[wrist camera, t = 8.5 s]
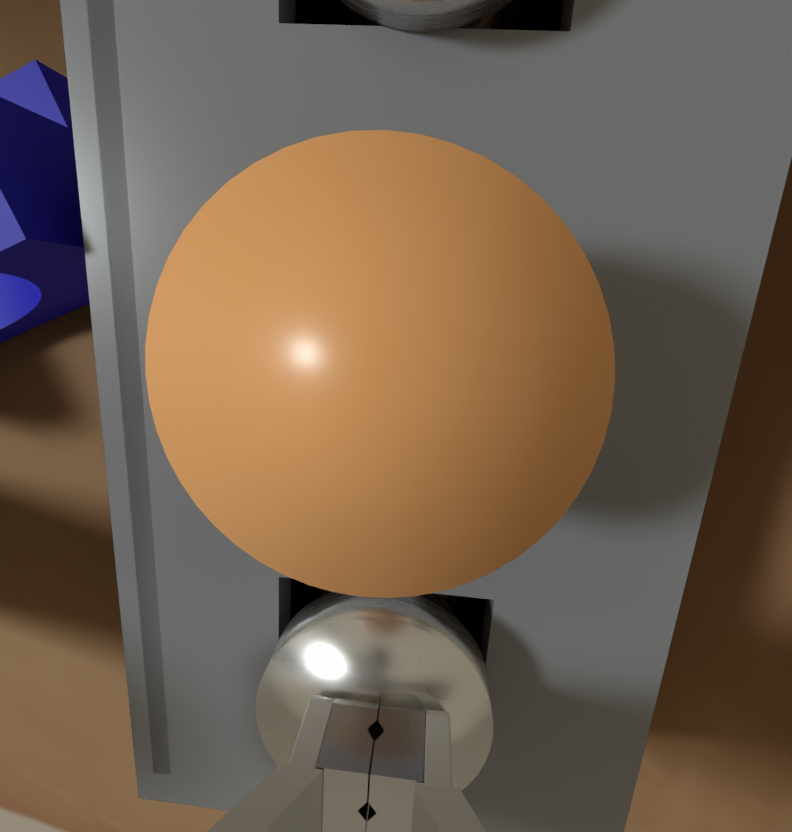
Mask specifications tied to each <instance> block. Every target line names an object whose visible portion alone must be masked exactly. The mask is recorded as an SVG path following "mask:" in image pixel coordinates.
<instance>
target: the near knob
mask: <svg viewBox="0 0 792 832" xmlns="http://www.w3.org/2000/svg"><path fill="white" fill-rule="evenodd" d="M340 1H342V2H343V3H344V4H345V5H346V6H348V7H350V10H351V13H352V16H353V20H354V23H355V25H360V26H390V27H394V28H398V29H402V30H411V31H441V30H446V29H451V28H466V29H501V30H512V27H513V24H514V20H515V17H516V13H517V10H518V6H519V2H520V0H340Z"/></svg>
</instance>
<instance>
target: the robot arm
mask: <svg viewBox="0 0 792 832" xmlns="http://www.w3.org/2000/svg"><path fill="white" fill-rule="evenodd" d="M366 829H367V832H486V830H485V829H484V827H483V826H482V824H481V822H480V821H479V819H478V817H477V816H476V814H475V813H474V811H473V809H472V808H471V806H470V804H469V803H468V801H467V800H466V798H465V796H464V795H463V793H462V791H461V790H460V788H455V787H452V760H451V725H450V714H449V712H445V711H437V710H428V709H426V711H425V709H420V708H411V707H402V706H393V705H384V704H381V705H380V710H379V704H373V703H367V702H360V701H354V700H347V699H341V698H331V697H324V696H318V695H312V697H311V698H310V700H309V702H308V705H307V708H306V711H305V714H304V717H303V720H302V724H301V727H300V730H299V733H298V736H297V739H296V742H295V745H294V748H293V751H292V754H291V758H290V761H289V764H288V765H286V764H281V765H280V766H278V767H277V768H276V769H275V770H274V771H273V772H272V773H271V774H270V775H269V776H268V777H266V778H265V779H264V780H263V781H262V782H261V783H260V784H259V785H258V786H257V787H256V788H254V789H253V790H252V791H251V792H250V793H249V794H248V795H247V796H246V797H245V798H244V799H242V800H241V801H240V802H239V803H238V804H237V805H236V806H235V807H234V808H233V809H232V810H230V811H229V812H228V813H227V814H226V815H225V816H224V817H223V818H222V819H221V820H220V821H218V822H217V823H216V824H215V825H214V826H213V827H212V828H211V829H210V830H209V831H208V832H366Z"/></svg>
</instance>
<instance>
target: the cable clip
mask: <svg viewBox="0 0 792 832" xmlns="http://www.w3.org/2000/svg"><path fill="white" fill-rule="evenodd" d="M89 303H90V301H89V291H88V281H87V271H86V261H85V250H84V240H83V230H82V220H81V210H80V200H79V190H78V179H77V169H76V159H75V149H74V139H73V129H72V119H71V108H70V98H69V88H68V78H66V77H64V76H62V75H61V74H59V73H57V72H56V71H54V70H52V69H51V68H49V67H47V66H45V65H44V64H42V63H40V62H39V61H37V60H34V61H32V62H30V63H28V64H27V65H25V66H23V67H21V68H19V69H18V70H16V71H14V72H12V73H10V74H9V75H7V76H5V77H3V78H1V79H0V343H1V342H3V341H5V340H8V339H10V338H12V337H14V336H17V335H19V334H21V333H23V332H26V331H28V330H30V329H32V328H35V327H37V326H39V325H42V324H44V323H46V322H48V321H51V320H53V319H55V318H57V317H60V316H62V315H64V314H67V313H69V312H71V311H73V310H76V309H78V308H80V307H82V306H85V305H87V304H89Z"/></svg>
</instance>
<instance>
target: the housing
mask: <svg viewBox="0 0 792 832" xmlns="http://www.w3.org/2000/svg"><path fill="white" fill-rule="evenodd" d="M60 7H61V17H62V27H63V38H64V48H65V58H66V68H67V78H68V88H69V98H70V108H71V119H72V129H73V139H74V149H75V159H76V169H77V179H78V190H79V200H80V210H81V220H82V230H83V240H84V250H85V261H86V271H87V281H88V291H89V301H90V311H91V321H92V331H93V342H94V352H95V362H96V372H97V382H98V392H99V402H100V413H101V423H102V433H103V443H104V453H105V463H106V473H107V484H108V494H109V504H110V514H111V524H112V534H113V544H114V554H115V565H116V575H117V585H118V595H119V605H120V615H121V625H122V636H123V646H124V656H125V666H126V676H127V686H128V696H129V707H130V717H131V727H132V737H133V747H134V757H135V767H136V778H137V788H138V798H141V799H149V800H156V801H163V802H170V803H177V804H184V805H191V806H198V807H206V808H213V809H220V810H227V811H230V810H232V809H233V808H234V807H235V806H236V805H237V804H238V803H239V802H240V801H241V800H242V799H244V798H245V797H246V796H247V795H248V794H249V793H250V792H251V791H252V790H253V789H254V788H256V787H257V786H258V785H259V784H260V783H261V782H262V781H263V780H264V779H265V778H266V777H268V776H269V775H270V774H271V773H272V772H273V771H274V770H275V769H276V768H277V767H278V766H277V764H276V763H275V762H274V760H273V759H272V758H271V756H270V754H269V753H268V751H267V749H266V747H265V746H264V743H263V741H262V738H261V736H260V733H259V729H258V725H257V720H256V696H257V692H258V687H259V684H260V681H261V679H262V676H263V674H264V672H265V669H266V667H267V665H268V663H269V661H270V659H271V656H272V654H273V652H274V650H275V648H276V645H277V643H278V641H279V639H280V637H281V635H282V633H283V631H284V630H285V628H286V626H287V625H288V623H289V622H290V621H291V578H290V577H288V576H285V575H283V574H281V573H279V572H277V571H275V570H274V569H272V568H270V567H268V566H266V565H265V564H263V563H261V562H259V561H258V560H256V559H255V558H253V557H252V556H250V555H249V554H248V553H246V552H245V551H243V550H242V549H241V548H239V547H238V546H236V545H235V544H234V543H233V542H232V541H231V540H230V539H228V538H227V537H226V536H225V535H224V534H223V533H222V532H221V531H220V530H218V529H217V528H216V527H215V526H214V525H213V524H212V522H211V521H210V520H209V519H208V518H207V517H206V516H205V515H204V513H203V512H202V511H201V510H200V509H199V508H198V507H197V505H196V504H195V503H194V501H193V500H192V498H191V497H190V496H189V494H188V493H187V491H186V490H185V488H184V487H183V486H182V484H181V483H180V481H179V479H178V477H177V475H176V473H175V471H174V470H173V468H172V466H171V464H170V462H169V460H168V459H167V456H166V454H165V451H164V449H163V446H162V444H161V441H160V439H159V436H158V433H157V431H156V427H155V423H154V419H153V415H152V412H151V408H150V404H149V397H148V389H147V382H146V373H145V343H146V335H147V327H148V318H149V313H150V309H151V305H152V301H153V297H154V293H155V289H156V286H157V283H158V281H159V278H160V276H161V273H162V271H163V268H164V266H165V264H166V261H167V259H168V256H169V255H170V253H171V251H172V250H173V248H174V246H175V244H176V243H177V241H178V239H179V237H180V236H181V234H182V232H183V230H184V229H185V228H186V226H187V225H188V224H189V223H190V221H191V220H192V219H193V218H194V216H195V215H196V214H197V212H198V211H199V210H200V209H201V207H202V206H203V205H204V204H205V203H206V202H207V201H208V200H209V199H210V198H211V197H212V196H213V195H214V194H215V193H216V192H217V191H218V190H219V189H220V188H222V187H223V186H224V185H225V184H226V183H227V182H228V181H229V180H231V179H232V178H234V177H235V176H237V175H238V174H239V173H241V172H242V171H244V170H245V169H246V168H248V167H249V166H251V165H252V164H253V163H255V162H257V161H259V160H261V159H263V158H265V157H267V156H269V155H271V154H273V153H275V152H277V151H279V150H280V149H282V148H285V147H288V146H291V145H294V144H297V143H300V142H303V141H305V140H308V139H311V138H314V137H319V136H324V135H330V134H335V133H341V132H346V131H363V130H390V131H398V132H407V133H416V134H421V135H425V136H429V137H432V138H436V139H440V140H444V141H447V142H451V143H454V144H456V145H459V146H461V147H463V148H466V149H468V150H470V151H473V152H475V153H477V154H479V155H482V156H484V157H486V158H488V159H489V160H491V161H493V162H494V163H496V164H497V165H499V166H501V167H502V168H504V169H505V170H507V171H509V172H510V173H512V174H514V175H515V176H516V177H518V178H519V179H520V180H521V181H522V182H524V183H525V184H526V185H527V186H528V187H529V188H531V189H532V190H533V191H534V192H535V193H537V194H538V195H539V196H540V197H541V198H543V200H544V201H545V202H546V203H547V204H548V205H549V206H550V207H551V209H552V210H553V211H554V212H555V213H556V214H557V215H558V216H559V218H560V219H561V220H562V221H563V222H564V223H565V224H566V226H567V227H568V229H569V230H570V232H571V233H572V235H573V236H574V238H575V239H576V241H577V242H578V244H579V245H580V247H581V248H582V250H583V251H584V253H585V255H586V257H587V259H588V261H589V263H590V266H591V268H592V270H593V272H594V274H595V276H596V278H597V280H598V282H599V285H600V288H601V291H602V295H603V298H604V301H605V304H606V307H607V311H608V314H609V318H610V324H611V330H612V336H613V343H614V351H615V386H614V395H613V404H612V412H611V416H610V420H609V424H608V428H607V432H606V436H605V440H604V443H603V445H602V448H601V450H600V453H599V455H598V458H597V460H596V463H595V465H594V468H593V470H592V472H591V473H590V475H589V477H588V479H587V481H586V482H585V484H584V486H583V488H582V489H581V491H580V493H579V495H578V496H577V498H576V499H575V500H574V501H573V503H572V504H571V505H570V507H569V508H568V509H567V511H566V512H565V513H564V515H563V516H562V517H561V519H560V520H559V521H558V522H557V523H556V524H555V525H554V526H553V527H552V528H551V529H550V530H549V531H548V532H547V533H546V534H545V535H544V536H543V537H542V538H541V539H540V540H539V541H538V542H536V543H535V544H534V545H533V546H531V547H530V548H529V549H528V550H526V551H525V552H524V553H522V554H521V555H520V556H519V557H517V558H516V559H514V560H512V561H511V562H509V563H507V564H506V565H504V566H502V567H501V568H499V569H497V570H496V571H494V572H492V573H490V574H488V575H485V576H483V577H481V578H479V579H476V580H474V581H472V582H470V583H467V584H464V585H461V586H457V587H454V588H451V589H448V590H445V591H441V592H435V594H444V595H454V596H463V597H473V598H482V599H486V607H485V615H484V622H483V630H482V638H481V646H480V651H481V654H482V656H483V659H484V663H485V666H486V671H487V679H488V686H489V694H490V701H491V709H492V717H493V739H492V744H491V748H490V752H489V754H488V757H487V759H486V762H485V764H484V765H483V767H482V769H481V770H480V772H479V773H478V775H477V776H476V777H475V778H474V779H473V781H472V782H471V783H470V784H469V785H468V786H467V787H465V788H464V789H463V790H462V793H463V795H464V796H465V798H466V800H467V801H468V803H469V804H470V806H471V808H472V809H473V811H474V813H475V814H476V816H477V817H478V819H479V821H480V822H481V824H482V826H483V827H484V829H485V830H486V832H624V829H625V825H626V821H627V817H628V813H629V809H630V805H631V801H632V797H633V793H634V789H635V785H636V781H637V777H638V773H639V769H640V764H641V760H642V756H643V752H644V748H645V744H646V740H647V736H648V732H649V728H650V724H651V720H652V716H653V712H654V708H655V704H656V700H657V696H658V692H659V688H660V684H661V680H662V676H663V672H664V668H665V664H666V660H667V656H668V652H669V648H670V644H671V640H672V636H673V632H674V628H675V624H676V620H677V616H678V612H679V608H680V604H681V600H682V596H683V592H684V588H685V584H686V580H687V576H688V572H689V568H690V564H691V560H692V556H693V552H694V548H695V544H696V540H697V536H698V532H699V528H700V524H701V519H702V515H703V511H704V507H705V503H706V499H707V495H708V491H709V487H710V483H711V479H712V475H713V471H714V467H715V463H716V459H717V455H718V451H719V447H720V443H721V439H722V435H723V431H724V427H725V423H726V419H727V415H728V411H729V407H730V403H731V399H732V395H733V391H734V387H735V383H736V379H737V375H738V371H739V367H740V363H741V359H742V355H743V351H744V347H745V343H746V339H747V335H748V331H749V327H750V323H751V319H752V315H753V311H754V307H755V303H756V299H757V295H758V291H759V287H760V283H761V279H762V275H763V270H764V266H765V262H766V258H767V254H768V250H769V246H770V242H771V238H772V234H773V230H774V226H775V222H776V218H777V214H778V210H779V206H780V202H781V198H782V194H783V190H784V186H785V182H786V178H787V174H788V170H789V166H790V162H791V158H792V0H563V7H562V15H561V23H560V30H559V31H537V30H501V29H466V28H451V29H446V30H441V31H411V30H402V29H398V28H394V27H390V26H360V25H325V24H295V18H296V0H60ZM366 830H367V829H366Z"/></svg>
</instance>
